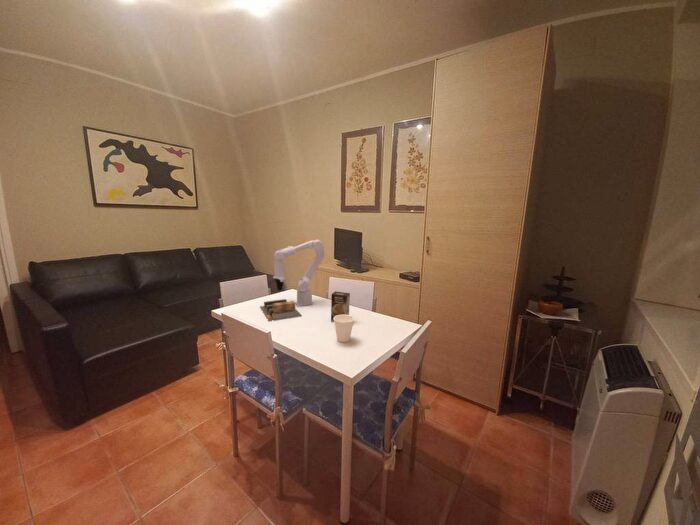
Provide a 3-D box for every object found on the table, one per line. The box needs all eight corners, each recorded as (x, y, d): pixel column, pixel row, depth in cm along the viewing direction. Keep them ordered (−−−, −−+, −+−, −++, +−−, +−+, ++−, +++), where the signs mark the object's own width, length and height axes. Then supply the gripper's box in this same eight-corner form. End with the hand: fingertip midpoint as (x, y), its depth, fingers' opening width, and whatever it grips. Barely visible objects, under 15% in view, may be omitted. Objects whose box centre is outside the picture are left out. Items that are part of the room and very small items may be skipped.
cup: (342, 333, 141) (342, 312, 139) (357, 339, 135) (358, 318, 133) (328, 340, 133) (329, 318, 131) (344, 346, 127) (345, 324, 125)
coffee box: (330, 321, 155) (330, 293, 152) (334, 317, 161) (334, 290, 159) (346, 323, 153) (346, 295, 150) (349, 319, 159) (350, 292, 156)
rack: (289, 303, 184) (289, 298, 183) (301, 316, 162) (301, 310, 162) (259, 307, 175) (259, 302, 174) (268, 321, 153) (268, 315, 153)
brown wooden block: (293, 312, 167) (293, 300, 166) (295, 314, 163) (295, 302, 162) (272, 315, 161) (272, 303, 160) (274, 317, 158) (274, 305, 157)
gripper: (270, 267, 181) (270, 288, 183) (275, 272, 168) (276, 293, 171) (281, 267, 184) (281, 286, 186) (287, 271, 171) (287, 292, 174)
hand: (279, 290), depth 179 cm, fingers closed
